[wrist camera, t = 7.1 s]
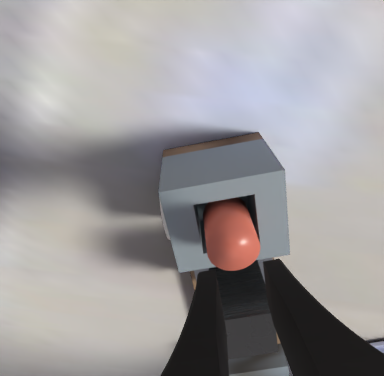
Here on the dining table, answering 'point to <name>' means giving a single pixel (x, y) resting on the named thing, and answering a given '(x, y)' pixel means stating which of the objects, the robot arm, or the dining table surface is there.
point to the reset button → (230, 234)
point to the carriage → (246, 310)
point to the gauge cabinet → (223, 198)
